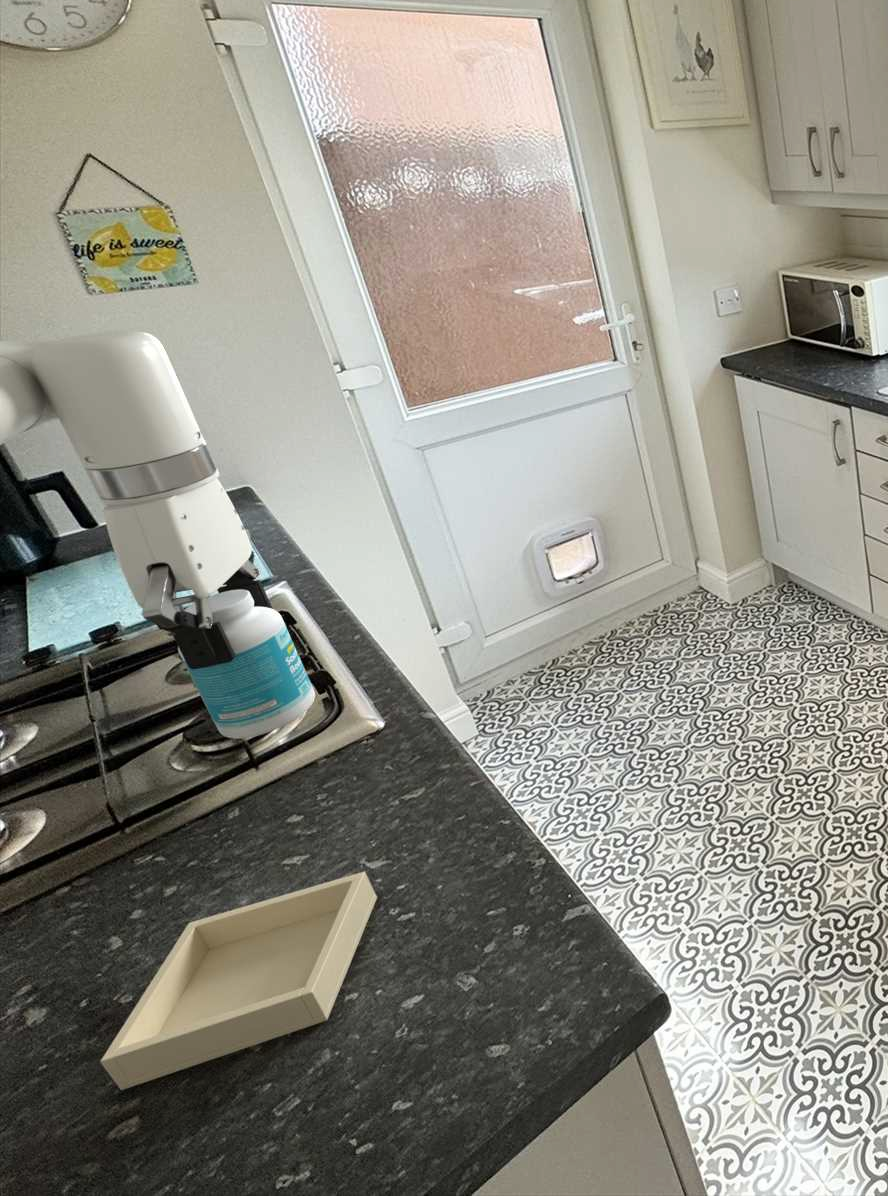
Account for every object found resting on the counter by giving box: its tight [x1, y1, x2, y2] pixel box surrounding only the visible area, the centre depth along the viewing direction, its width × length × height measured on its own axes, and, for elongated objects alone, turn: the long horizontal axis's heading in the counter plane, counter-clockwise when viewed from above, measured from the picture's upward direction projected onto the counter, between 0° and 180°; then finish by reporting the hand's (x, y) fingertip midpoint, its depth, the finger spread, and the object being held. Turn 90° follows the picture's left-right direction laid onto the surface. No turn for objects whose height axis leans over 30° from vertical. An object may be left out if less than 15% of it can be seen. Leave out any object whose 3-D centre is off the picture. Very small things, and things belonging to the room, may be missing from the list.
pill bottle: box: [177, 590, 316, 740], centre depth 76 cm, size 8×7×14 cm
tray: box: [100, 871, 378, 1091], centre depth 69 cm, size 14×13×4 cm
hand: (234, 639), depth 75 cm, fingers closed on pill bottle, 7 cm apart
